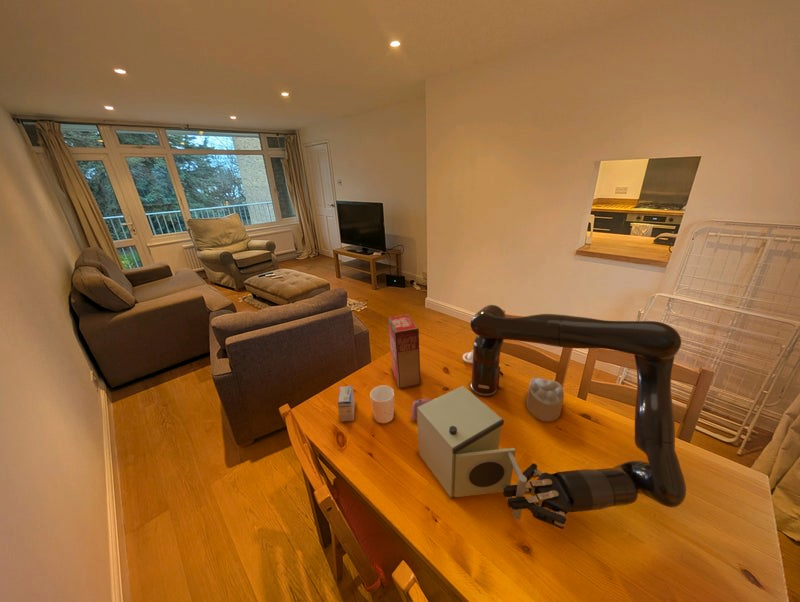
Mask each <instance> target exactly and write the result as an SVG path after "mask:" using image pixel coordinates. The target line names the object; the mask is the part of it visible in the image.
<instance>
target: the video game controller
mask: <svg viewBox="0 0 800 602" xmlns="http://www.w3.org/2000/svg"><path fill="white" fill-rule="evenodd" d="M431 400H433V399H432V398H420V399H416V400H414V401H413V403H412V405H411V420H412V422H413V423H414V422H415V421H416V419H417V407H419V406H421V405H423V404H425V403H427V402H429V401H431Z"/></svg>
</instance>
